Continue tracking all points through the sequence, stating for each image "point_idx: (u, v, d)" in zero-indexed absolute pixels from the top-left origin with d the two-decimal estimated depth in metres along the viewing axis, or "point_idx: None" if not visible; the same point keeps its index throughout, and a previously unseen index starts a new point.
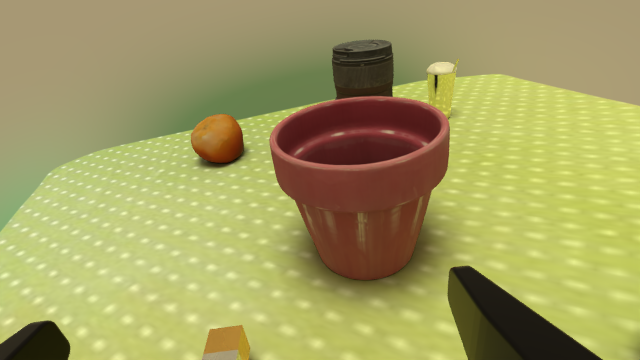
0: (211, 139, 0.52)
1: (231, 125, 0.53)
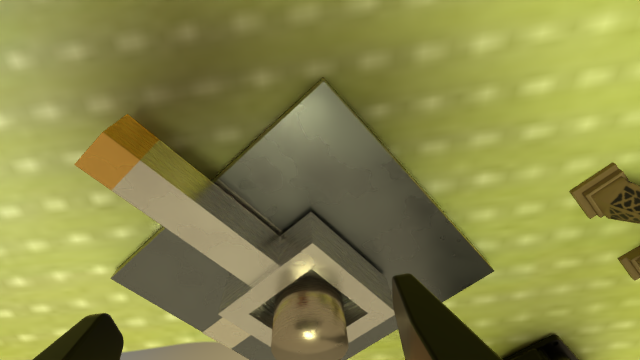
0: None
1: None
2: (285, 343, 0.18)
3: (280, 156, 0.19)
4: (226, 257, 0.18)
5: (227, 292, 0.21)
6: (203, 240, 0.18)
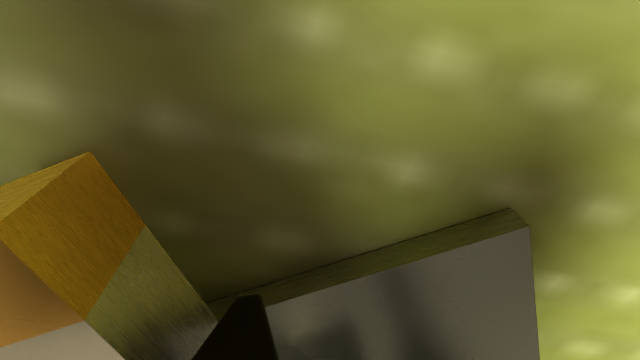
0: None
1: None
2: None
3: (370, 314, 0.09)
4: None
5: None
6: None
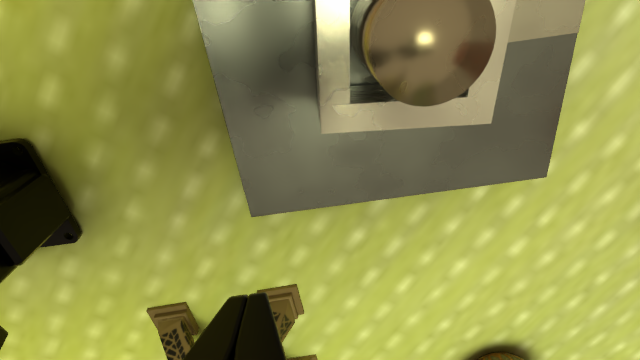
0: None
1: None
2: (469, 16, 0.11)
3: (535, 107, 0.18)
4: None
5: None
6: None
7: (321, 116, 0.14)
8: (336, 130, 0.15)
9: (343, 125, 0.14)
